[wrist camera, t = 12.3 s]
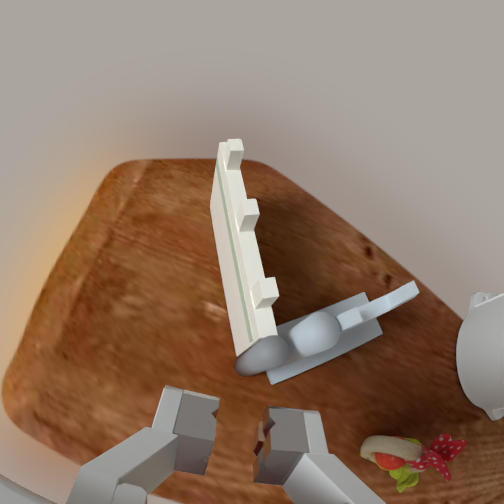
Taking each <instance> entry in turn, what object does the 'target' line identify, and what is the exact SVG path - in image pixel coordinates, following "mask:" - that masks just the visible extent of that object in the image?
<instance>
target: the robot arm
mask: <svg viewBox="0 0 504 504" xmlns="http://www.w3.org/2000/svg"><path fill="white" fill-rule="evenodd" d="M456 362H457V370H458V375H459V379H460V383H461V386H462V388H463V390H464V392H465V394H466V396H467V397H468V399H469V400H470V401H471V402H472V403H473V404H474V405H476V406H477V407H480V408H482V409H483V410H485V411H486V413H487V415H488V416H489V418H490V419H491V420H492V421H495V420H499V419H501V418H502V417H503V416H504V293H502V294H500V295H499V294H492V293H486V292H475V293H473V294H472V295H471V298H470V304H469V311H468V314H467V316H466V318H465V319H464V321H463V323H462V325H461V328H460V331H459V334H458V339H457V348H456ZM218 407H219V398H217V397H213V396H208V395H204V394H200V393H196V392H192V391H188V390H182V389H178V388H175V387H171V386H167V385H166V386H165V388H164V390H163V393H162V396H161V399H160V402H159V405H158V409H157V412H156V415H155V418H154V421H153V425H152V428H149V427H145V428H143V429H142V430H140V431H139V432H137V433H136V434H134V435H132V436H131V437H129V438H128V439H126V440H124V441H123V442H121V443H120V444H118V445H116V446H115V447H113V448H112V449H110V450H108V451H107V452H105V453H103V454H102V455H100V456H98V457H96V458H95V459H93V460H91V461H90V462H88V463H86V464H84V465H83V466H81V469H80V471H79V474H78V476H77V478H76V481H75V483H74V486H73V488H72V491H71V493H70V495H69V498H68V500H67V503H66V504H147V495H148V494H149V493H150V492H152V491H153V490H154V489H155V488H156V487H157V486H158V485H160V484H161V483H162V482H163V481H164V480H165V479H166V478H167V477H169V476H170V475H171V474H172V473H173V472H174V470H176V471H181V472H186V473H192V474H198V475H205V472H206V468H207V465H208V459H209V456H210V455H211V452H212V448H213V444H214V440H215V432H216V424H217V420H216V415H217V411H218ZM262 417H263V421H262V422H261V423H259V424H258V426H257V429H256V432H255V436H254V444H253V453H254V454H255V455H256V456H257V457H256V460H255V462H254V464H253V482H254V483H263V484H272V485H283V486H282V487H283V489H284V490H285V492H286V493H287V495H288V496H289V497H290V499H291V500H292V502H293V503H294V504H386V503H385V502H384V501H383V500H382V499H381V498H379V497H378V496H377V495H376V494H375V493H374V492H373V491H372V490H371V489H370V488H368V487H367V486H366V485H365V484H364V483H363V482H362V481H361V480H360V479H359V478H358V477H357V476H356V475H355V474H354V473H352V472H351V471H350V470H349V469H348V468H347V467H346V466H345V465H344V464H343V463H342V462H341V461H340V460H339V459H338V458H337V457H336V456H335V455H334V454H329V453H328V448H327V444H326V439H325V434H324V430H323V425H322V421H321V416H320V413H319V412H318V411H311V410H300V409H291V408H282V407H274V406H266V408H265V409H264V412H263V414H262ZM0 504H57V503H54V502H52V501H50V500H48V499H46V498H44V497H41V496H40V495H37V494H35V493H33V492H32V491H30V490H28V489H26V488H24V487H22V486H20V485H18V484H17V483H15V482H13V481H11V480H10V479H8V478H6V477H4V476H3V475H1V474H0Z"/></svg>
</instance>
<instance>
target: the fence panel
mask: <svg viewBox="0 0 504 504" xmlns="http://www.w3.org/2000/svg"><path fill="white" fill-rule="evenodd" d="M243 152H244V149H243V145H242V141H241V139H228V142H220V143H219V150H218V156H217V162H216V168H215V175H214V182H213V188H212V195H211V202H210V210H211V217H212V223H213V229H214V235H215V241H216V247H217V253H218V258H219V264H220V270H221V276H222V281H223V287H224V292H225V298H226V303H227V309H228V314H229V319H230V325H231V330H232V335H233V340H234V346H235V351H236V356H237V357H239V356H240V357H239V358H238V359H237V360H236V361H235V364H234V368H235V371H236V372H237V374H239V375H240V376H243V377H248V376H251V375H254V374H257V373H260V372H263V371H266V370H269V369H272V368H275V367H278V366H281V365H282V364H284V363H285V362H286V361H287V359H288V357H289V346H288V344H287V342H286V341H285V340H284V339H283V338H281V337H279V336H277V335H278V334H277V329H276V325H275V320H274V316H273V311H272V307H271V305H272V304H273V303H274V302H275V301H276V299H277V298H278V297H279V293H278V288H277V284H276V280H275V277H270V278H265V276H264V271H263V267H262V263H261V258H260V254H259V249H258V245H257V241H256V236H255V232H254V227H255V225H256V222H257V220H258V217H259V215H260V213H259V209H258V205H257V201H256V199H247V197H246V192H245V188H244V184H243V179H242V175H241V171H240V164H241V160H242V156H243Z"/></svg>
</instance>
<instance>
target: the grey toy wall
mask: <svg viewBox="0 0 504 504" xmlns="http://www.w3.org/2000/svg"><path fill="white" fill-rule="evenodd" d="M418 293H419V291H418V289H417V286H416V284H415V282H414V281H412V282H410V283H408V284H406V285H403V286H402V287H400V288H399V289H397V290H395V291H393V292H391V293H389V294H387V295H384V296H382V297H380V298H378V299H376V300H373V301H371V302H369V301H368V298H367V296H366V294H365V292H363V293H360V294H358V295H356V296H353V297H351V298H348V299H346V300H343V301H341V302H338V303H336V304H333V305H331V306H328V307H326V308H323V309H321V310H318V311H316V312H313V313H311V314H308V315H305V316H303V317H300V318H297V319H295V320H292V321H289V322H287V323H284V324H281V325H279V326H276V329H277V334H278V335H277V336H279V337H281V338H283V339H284V340H285V341H286V342H287V344H288V346H289V357H288V359H287V361H286V362H285V363H284V364H282V365H281V366H278V367H275V368H272V369H269V370H266V373H267V375H268V378H269V380H270V383H271V385H272V384H275V383H278V382H280V381H283V380H285V379H287V378H290V377H292V376H295V375H297V374H299V373H302V372H304V371H306V370H309V369H311V368H313V367H315V366H318V365H320V364H322V363H324V362H326V361H329V360H331V359H333V358H335V357H337V356H339V355H341V354H343V353H346V352H348V351H350V350H352V349H354V348H356V347H358V346H360V345H362V344H364V343H366V342H368V341H370V340H372V339H374V338H376V337H377V336H379V335H381V334H383V333H382V330H381V328H380V326H379V323H378V321H377V319H376V317H378V316H380V315H382V314H384V313H386V312H388V311H390V310H392V309H394V308H396V307H398V306H399V305H401V304H403V303H405V302H407V301H409V300H411V299H412V298H414V297H416V295H417V294H418Z"/></svg>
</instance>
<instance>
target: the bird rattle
mask: <svg viewBox="0 0 504 504" xmlns="http://www.w3.org/2000/svg"><path fill="white" fill-rule="evenodd" d="M466 444H467V441H466V440H456V441H453V440H452V439H451V436H450V435H449V434H447V433H445V434H442V435H440V436H438V437H436V438H435V439H434V441H433V442H432V443H431V445H430V447H429V449H428V448H427V447H425V446H424V445H422V444H421V443H420V442H419V441H418V440H417V439H410V438H402V437H400V436H391V437H390V436H381V435H375V436H370V437H368V438H366V439H365V440H364V442H363V444H362V446H361V451H360V456H361V457H363V458H365V459H368V460H370V461H372V462H374V463H376V464H377V465H378V466H379V467H380V468H381V469H383V470H388V471H389V473H390V476H392V477H393V478H395V479H397V485H396V489H397V490H398V491H399V492H400V493H401V492H402V491H404V490H405V488H406V487H412V486H414V485H416V484H417V483H418V481H419V473H418V472H422V471H425V470H426V469H427V468H428V467H429V466H432V467H434V468H435V469H437V470H438V471H439V472H440V473H441V474H442V476H443V477H444V478H445V480H446V481H449V480H450V479H451V473H450V469H449V467H448V466H447V465H446V463H447V462H451V461H452V460H453V459H454V458H455V457H456V456H457V455H458V454H459V453H460V452H461V451H462V450H463V449H464V447H465V446H466Z"/></svg>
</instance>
